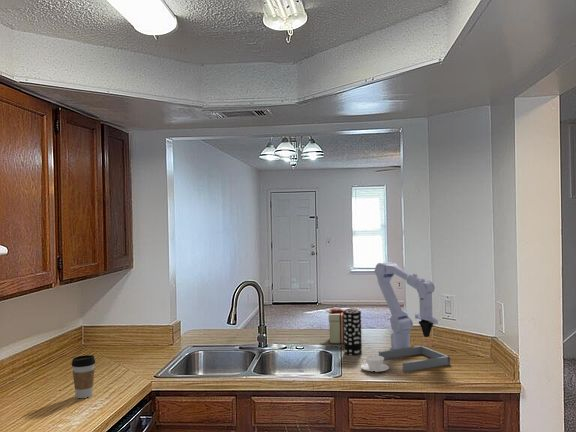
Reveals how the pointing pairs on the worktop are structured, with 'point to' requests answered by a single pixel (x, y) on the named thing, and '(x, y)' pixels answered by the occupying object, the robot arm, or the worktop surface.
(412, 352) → the cubby
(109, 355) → the worktop surface
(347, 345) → the spotted tube
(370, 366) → the teacup
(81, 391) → the coffee cup
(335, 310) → the gift box
